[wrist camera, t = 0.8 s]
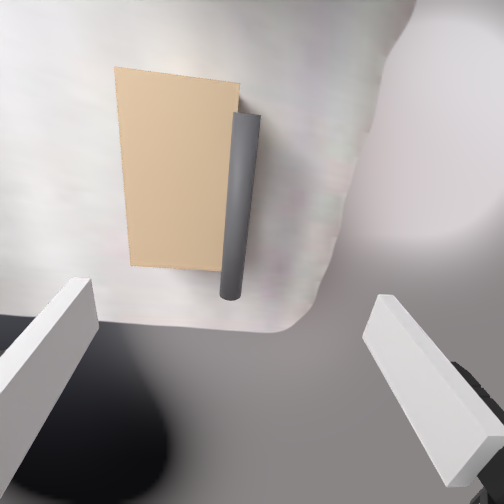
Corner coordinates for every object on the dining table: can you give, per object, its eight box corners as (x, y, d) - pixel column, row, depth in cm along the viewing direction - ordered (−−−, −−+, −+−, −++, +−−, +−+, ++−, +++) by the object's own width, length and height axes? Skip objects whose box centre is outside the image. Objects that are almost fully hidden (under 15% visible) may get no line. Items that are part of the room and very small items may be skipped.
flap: (117, 67, 24) (57, 45, 16) (254, 86, 25) (267, 74, 17) (132, 262, 32) (98, 316, 24) (236, 268, 33) (238, 321, 25)
